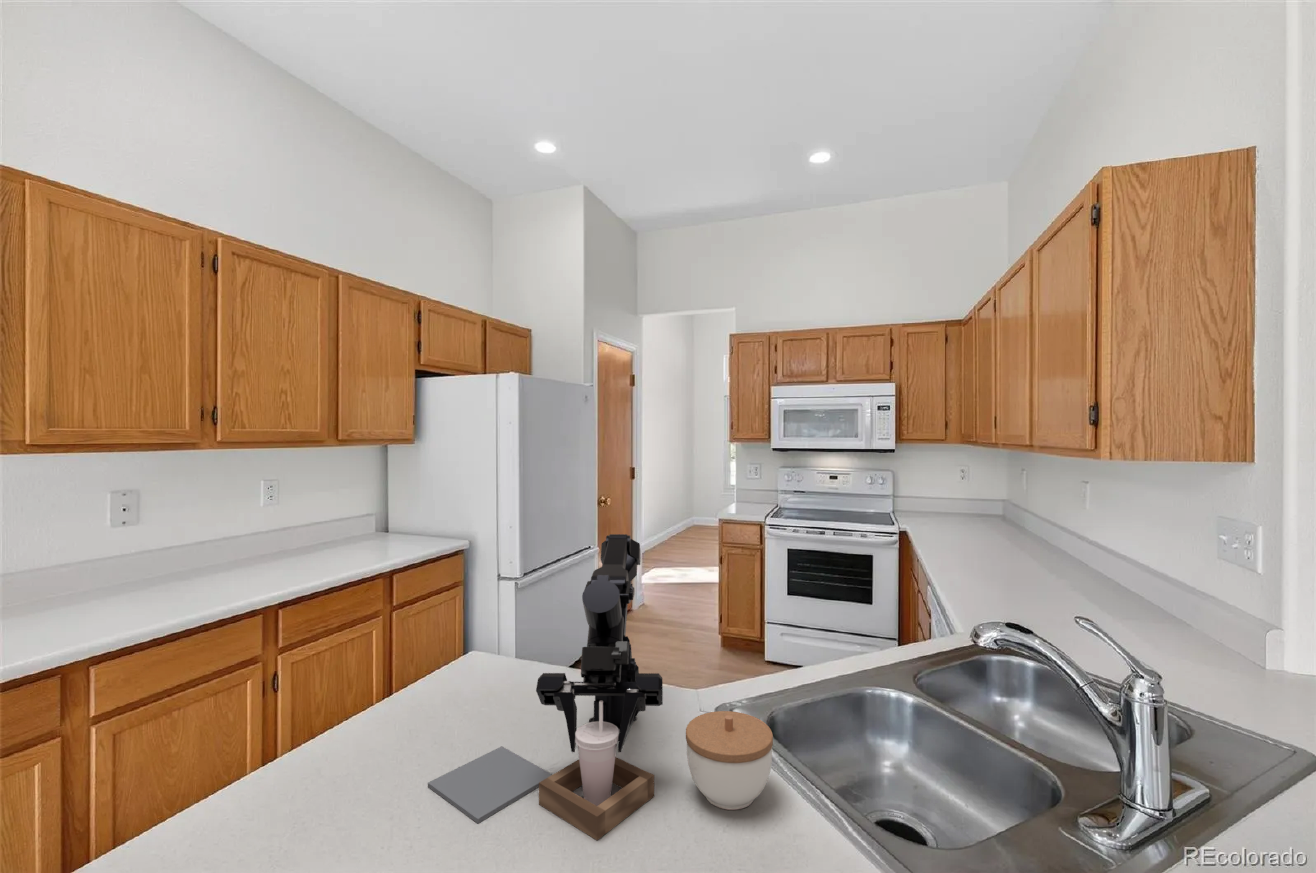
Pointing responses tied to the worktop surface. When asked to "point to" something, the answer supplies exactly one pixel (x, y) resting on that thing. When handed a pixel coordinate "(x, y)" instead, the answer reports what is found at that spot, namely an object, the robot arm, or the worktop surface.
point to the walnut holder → (586, 814)
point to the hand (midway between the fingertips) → (596, 751)
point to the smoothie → (597, 757)
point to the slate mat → (489, 783)
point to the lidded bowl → (729, 757)
